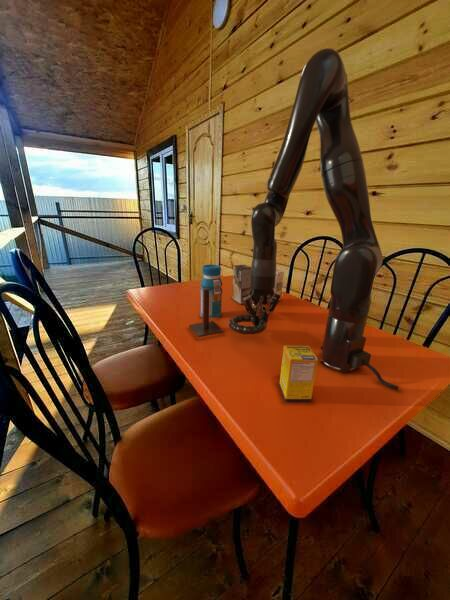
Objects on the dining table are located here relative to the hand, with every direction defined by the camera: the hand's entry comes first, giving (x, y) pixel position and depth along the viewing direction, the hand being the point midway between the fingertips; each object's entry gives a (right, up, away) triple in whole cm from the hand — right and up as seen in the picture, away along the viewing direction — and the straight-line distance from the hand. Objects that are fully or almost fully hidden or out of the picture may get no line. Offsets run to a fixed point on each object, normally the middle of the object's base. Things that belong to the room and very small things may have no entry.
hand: (259, 324), depth 83 cm
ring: (-4, 0, -2) cm, 5 cm away
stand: (-18, -3, +4) cm, 19 cm away
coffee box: (-3, +8, +36) cm, 37 cm away
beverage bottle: (-17, +1, +17) cm, 24 cm away
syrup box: (+11, +8, +38) cm, 41 cm away
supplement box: (+5, -14, -24) cm, 28 cm away
